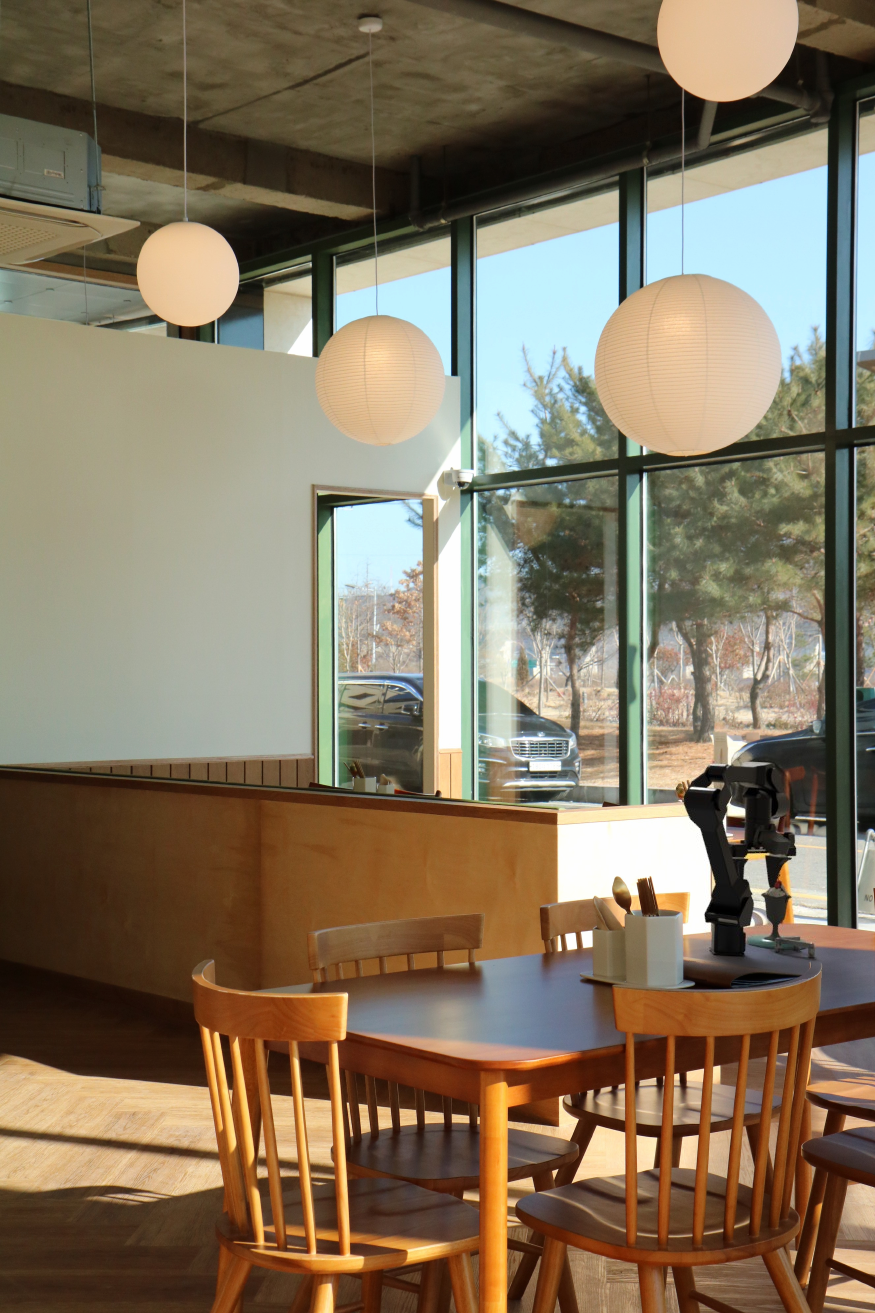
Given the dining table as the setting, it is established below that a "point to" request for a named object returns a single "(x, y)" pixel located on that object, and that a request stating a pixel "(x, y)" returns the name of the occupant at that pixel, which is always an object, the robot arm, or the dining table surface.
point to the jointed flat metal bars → (795, 945)
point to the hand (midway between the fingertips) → (756, 888)
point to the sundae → (776, 907)
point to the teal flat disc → (767, 942)
